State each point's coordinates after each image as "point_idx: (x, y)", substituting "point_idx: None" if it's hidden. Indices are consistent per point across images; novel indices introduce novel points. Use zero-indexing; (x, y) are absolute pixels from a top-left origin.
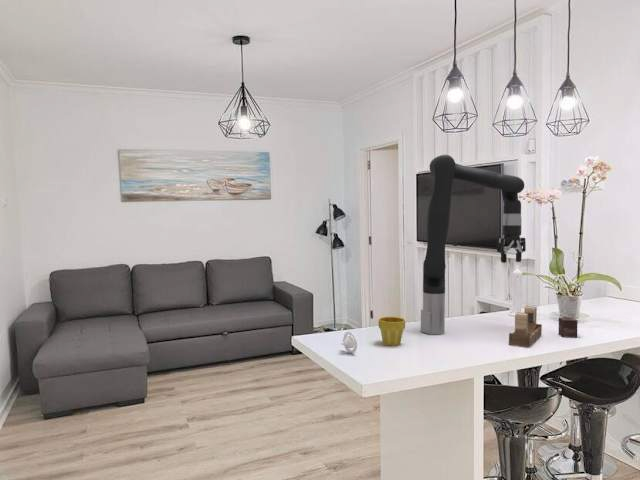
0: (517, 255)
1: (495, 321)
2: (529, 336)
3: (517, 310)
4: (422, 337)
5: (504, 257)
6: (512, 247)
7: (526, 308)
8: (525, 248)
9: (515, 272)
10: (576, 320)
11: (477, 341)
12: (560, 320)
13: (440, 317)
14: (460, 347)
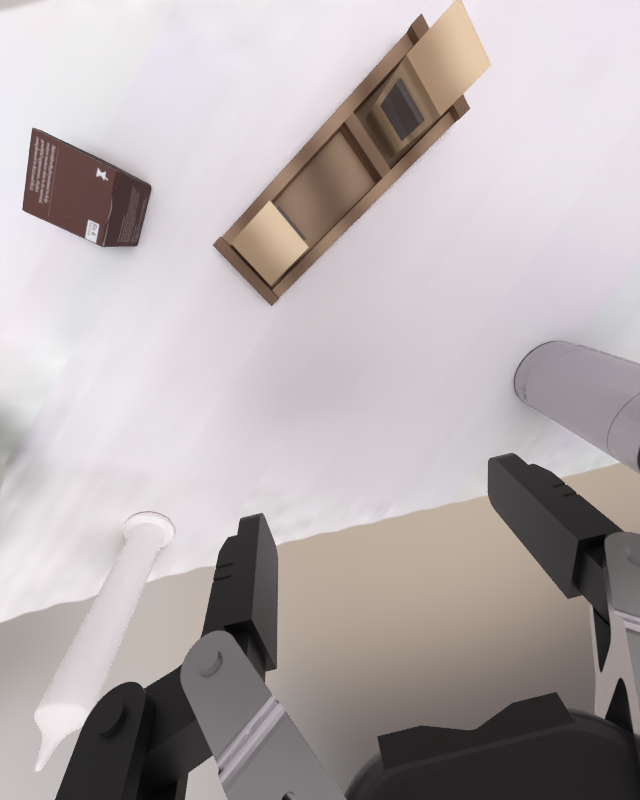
0: (268, 613)
1: (269, 467)
2: (420, 15)
3: (146, 534)
4: (622, 320)
5: (561, 502)
6: (506, 730)
7: (301, 238)
8: (67, 778)
9: (79, 708)
10: (39, 131)
11: (510, 219)
12: (116, 207)
13: (599, 357)
14: (625, 150)
